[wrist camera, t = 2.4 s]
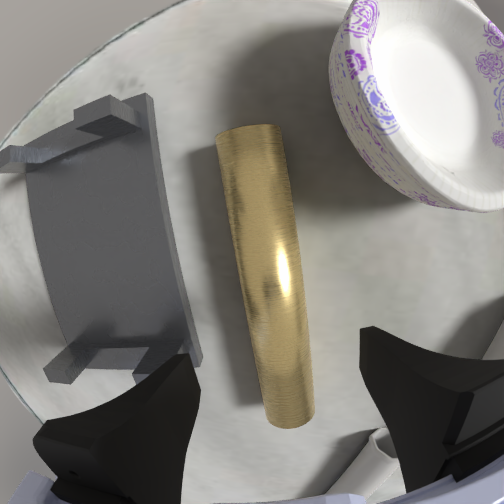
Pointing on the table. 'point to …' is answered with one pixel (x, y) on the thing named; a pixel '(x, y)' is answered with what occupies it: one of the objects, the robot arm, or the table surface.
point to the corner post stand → (107, 240)
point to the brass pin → (269, 268)
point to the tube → (369, 466)
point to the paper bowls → (424, 98)
